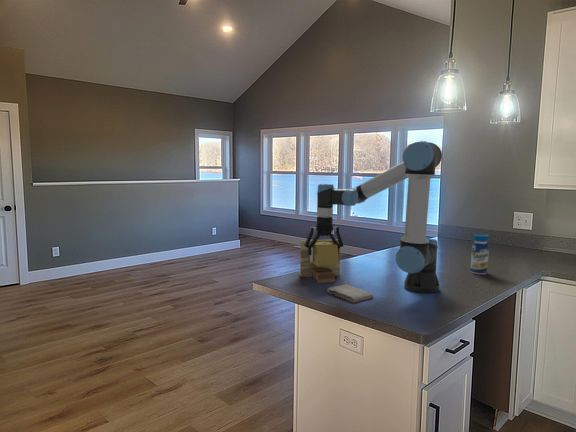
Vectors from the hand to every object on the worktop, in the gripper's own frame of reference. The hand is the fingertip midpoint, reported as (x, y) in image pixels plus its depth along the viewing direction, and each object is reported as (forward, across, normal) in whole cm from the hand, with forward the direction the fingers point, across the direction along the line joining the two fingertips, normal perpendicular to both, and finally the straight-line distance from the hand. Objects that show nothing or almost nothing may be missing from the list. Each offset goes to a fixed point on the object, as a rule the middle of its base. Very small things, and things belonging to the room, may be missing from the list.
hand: (323, 261), depth 201 cm
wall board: (+9, 0, -2) cm, 9 cm away
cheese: (+1, 0, 0) cm, 1 cm away
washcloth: (+10, -4, +26) cm, 28 cm away
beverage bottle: (+9, -84, -1) cm, 85 cm away
